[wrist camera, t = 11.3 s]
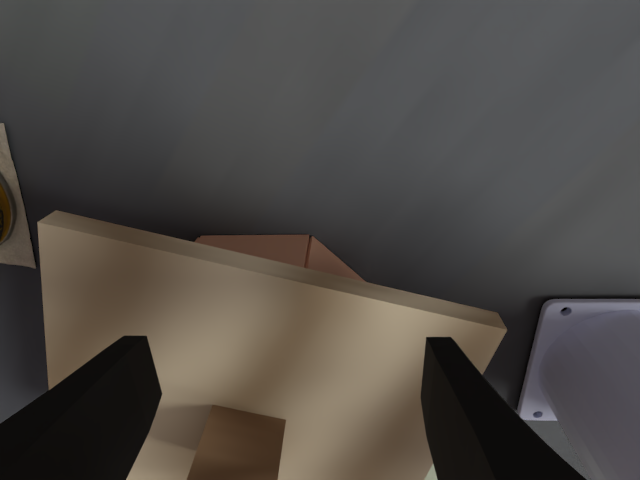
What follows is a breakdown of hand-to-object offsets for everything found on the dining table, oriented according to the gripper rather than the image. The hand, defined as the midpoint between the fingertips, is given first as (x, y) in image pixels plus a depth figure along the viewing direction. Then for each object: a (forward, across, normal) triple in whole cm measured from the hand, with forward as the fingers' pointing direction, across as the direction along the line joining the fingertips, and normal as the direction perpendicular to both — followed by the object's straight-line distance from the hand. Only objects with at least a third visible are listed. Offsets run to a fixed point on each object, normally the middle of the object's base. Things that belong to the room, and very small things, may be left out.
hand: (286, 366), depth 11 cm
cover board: (+5, +3, +7) cm, 9 cm away
